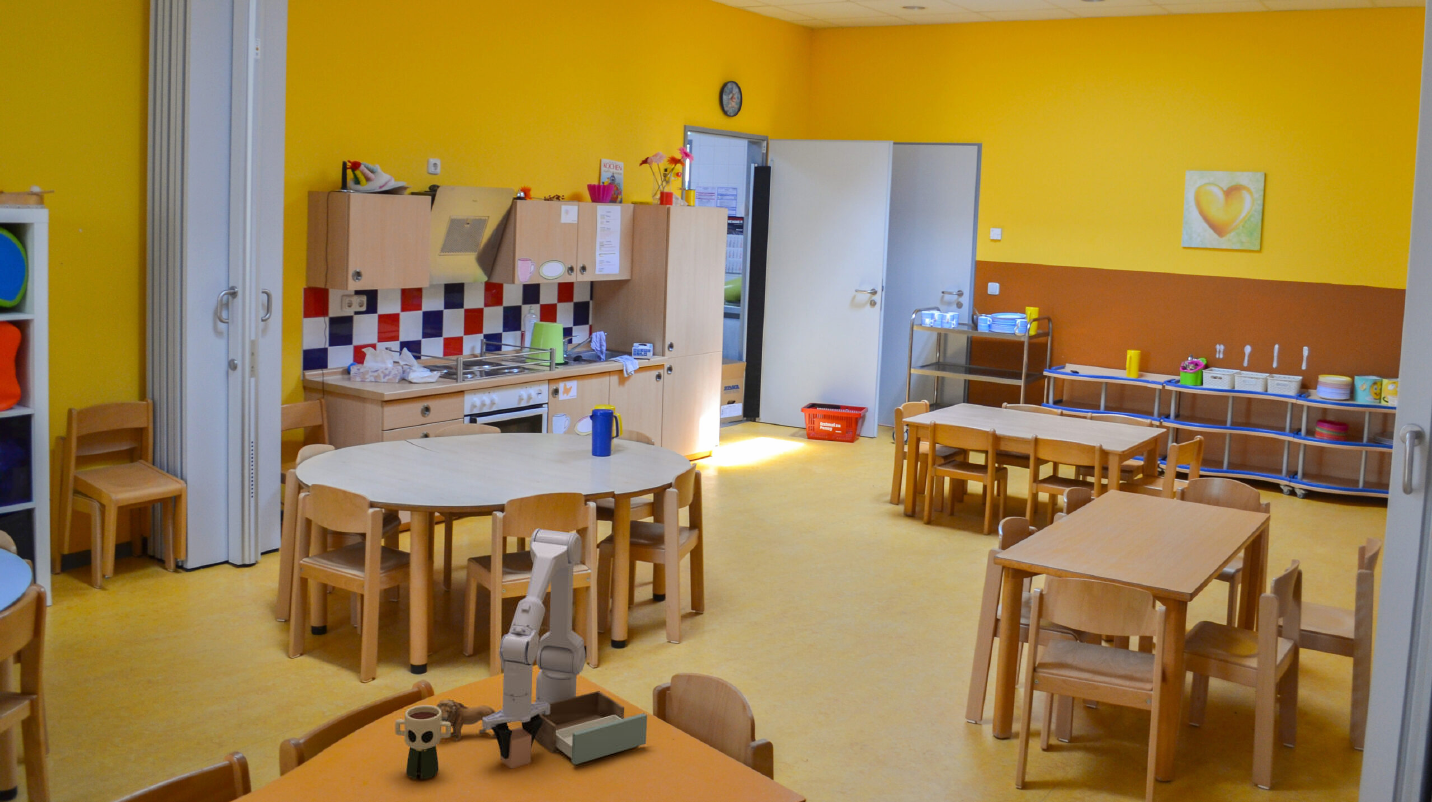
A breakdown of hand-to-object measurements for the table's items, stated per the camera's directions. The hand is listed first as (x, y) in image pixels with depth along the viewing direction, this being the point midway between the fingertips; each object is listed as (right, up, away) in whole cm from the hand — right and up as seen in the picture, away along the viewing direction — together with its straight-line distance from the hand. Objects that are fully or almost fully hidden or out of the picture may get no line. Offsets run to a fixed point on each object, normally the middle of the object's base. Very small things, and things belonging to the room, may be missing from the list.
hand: (515, 753), depth 241 cm
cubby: (+11, 0, +14) cm, 18 cm away
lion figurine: (-12, 0, +10) cm, 15 cm away
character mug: (-17, -2, -7) cm, 19 cm away
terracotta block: (0, -2, 0) cm, 2 cm away
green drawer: (+16, 0, +7) cm, 18 cm away
